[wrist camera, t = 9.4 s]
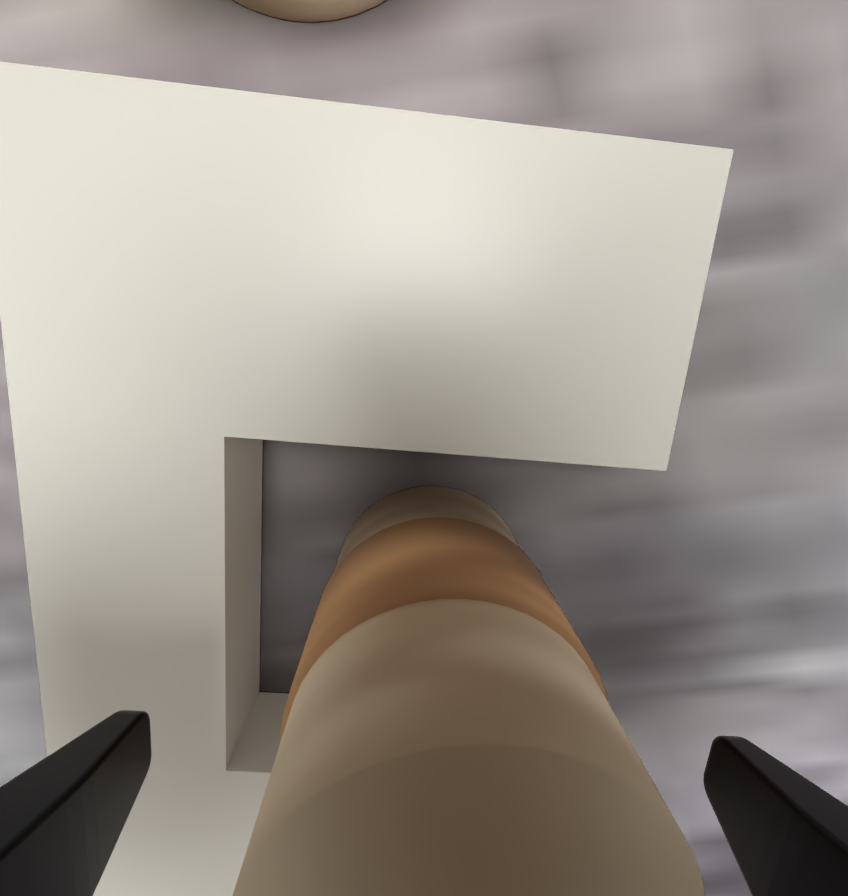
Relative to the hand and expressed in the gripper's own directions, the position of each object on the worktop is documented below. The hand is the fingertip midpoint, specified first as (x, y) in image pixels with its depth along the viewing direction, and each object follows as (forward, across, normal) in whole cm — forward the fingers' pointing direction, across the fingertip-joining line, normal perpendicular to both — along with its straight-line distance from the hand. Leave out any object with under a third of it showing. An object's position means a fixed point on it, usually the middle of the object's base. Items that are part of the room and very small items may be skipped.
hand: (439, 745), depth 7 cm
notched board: (+6, +2, 0) cm, 6 cm away
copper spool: (+6, 0, 0) cm, 6 cm away
